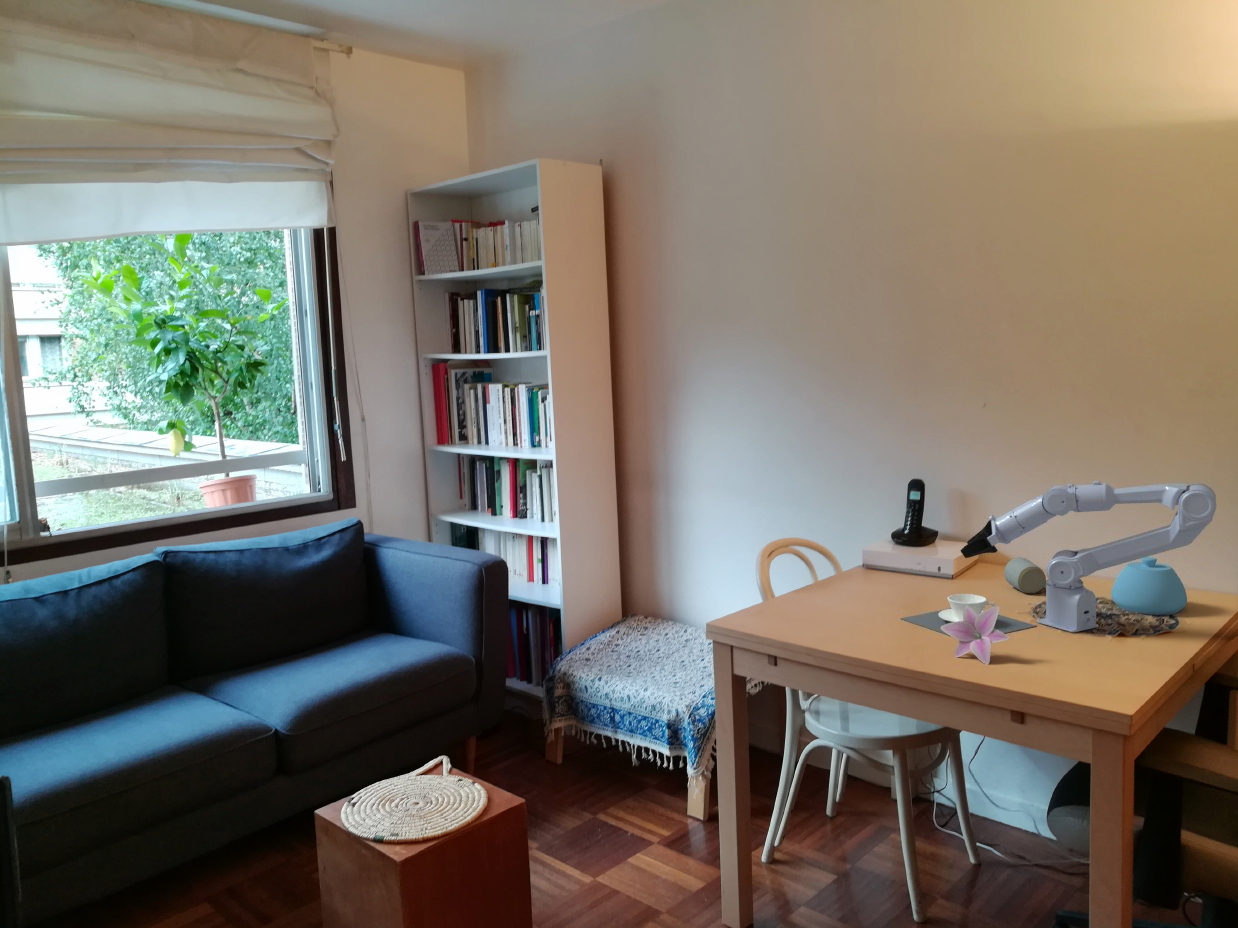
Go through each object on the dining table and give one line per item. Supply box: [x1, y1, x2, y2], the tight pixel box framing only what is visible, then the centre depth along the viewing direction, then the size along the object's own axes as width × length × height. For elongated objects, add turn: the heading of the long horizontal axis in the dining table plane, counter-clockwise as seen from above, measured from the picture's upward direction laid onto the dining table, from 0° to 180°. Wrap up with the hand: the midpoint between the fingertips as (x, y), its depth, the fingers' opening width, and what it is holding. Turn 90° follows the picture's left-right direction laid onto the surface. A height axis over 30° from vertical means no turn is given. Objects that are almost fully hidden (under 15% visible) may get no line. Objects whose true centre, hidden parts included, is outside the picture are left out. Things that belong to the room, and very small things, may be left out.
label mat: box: [900, 607, 1037, 637], centre depth 204 cm, size 20×20×1 cm
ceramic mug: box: [1003, 557, 1047, 595], centre depth 227 cm, size 11×8×8 cm
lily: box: [940, 605, 1010, 665], centre depth 182 cm, size 12×12×10 cm
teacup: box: [938, 593, 996, 622], centre depth 203 cm, size 12×12×5 cm
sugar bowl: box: [1110, 556, 1188, 616], centre depth 209 cm, size 15×15×12 cm
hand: (966, 550), depth 209 cm, fingers open, 7 cm apart
